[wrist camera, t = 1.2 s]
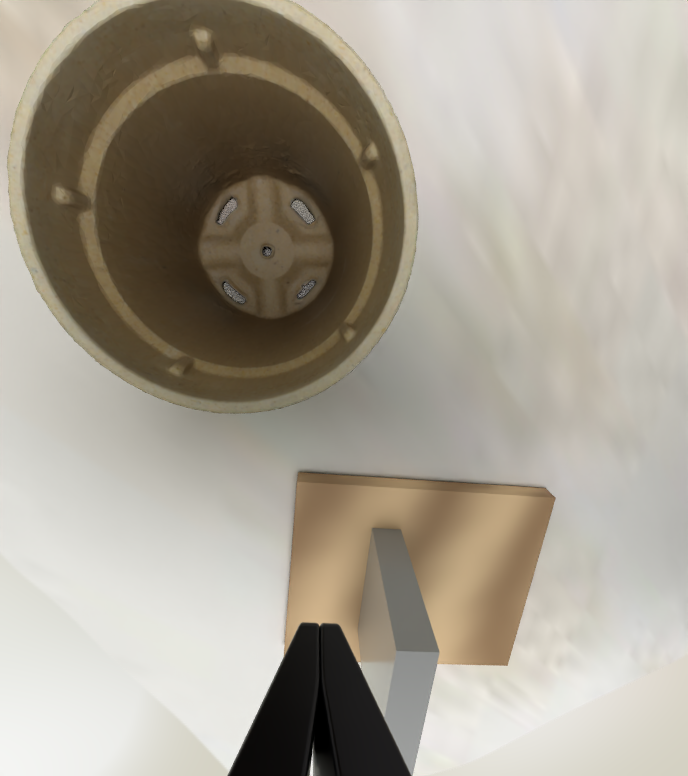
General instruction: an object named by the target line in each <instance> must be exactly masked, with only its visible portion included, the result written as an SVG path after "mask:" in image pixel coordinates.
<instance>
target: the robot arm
mask: <svg viewBox="0 0 688 776" xmlns="http://www.w3.org/2000/svg"><path fill="white" fill-rule="evenodd" d="M312 749H313V776H412V775H411V773H410V771H409V769H408V767H407V765H406V763H405V761H404V759H403V756H402V754H401V752H400V750H399V748H398V746H397V744H396V742H395V740H394V738H393V736H392V733H391V731H390V729H389V727H388V725H387V723H386V721H385V719H384V717H383V715H382V712H381V710H380V708H379V706H378V704H377V702H376V700H375V698H374V696H373V694H372V691H371V689H370V687H369V685H368V683H367V681H366V679H365V677H364V675H363V673H362V670H361V668H360V666H359V664H358V662H357V660H356V658H355V656H354V654H353V652H352V649H351V647H350V645H349V643H348V641H347V639H346V637H345V635H344V633H343V631H342V629H341V627H340V625H339V624H337V623H322V624H321V625H320V627H319V624H318V623H311V622H302V623H300V625H299V626H298V628H297V630H296V632H295V635H294V637H293V639H292V641H291V643H290V645H289V647H288V649H287V651H286V654H285V656H284V658H283V660H282V662H281V664H280V666H279V668H278V670H277V672H276V675H275V677H274V679H273V681H272V683H271V685H270V687H269V689H268V691H267V694H266V696H265V698H264V700H263V702H262V704H261V706H260V708H259V710H258V713H257V715H256V717H255V719H254V721H253V723H252V725H251V727H250V729H249V731H248V734H247V736H246V738H245V740H244V742H243V744H242V746H241V748H240V750H239V753H238V755H237V757H236V759H235V761H234V763H233V765H232V767H231V769H230V771H229V774H228V776H309V775H310V767H311V758H312Z"/></svg>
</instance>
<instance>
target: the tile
mask: <svg viewBox="0 0 688 776" xmlns="http://www.w3.org/2000/svg"><path fill="white" fill-rule="evenodd" d="M358 639H359V649H360V659H361V669H362V673H363V675H364V677H365V679H366V681H367V683H368V685H369V687H370V689H371V691H372V694H373V696H374V698H375V700H376V702H377V704H378V706H379V708H380V710H381V712H382V715H383V717H384V719H385V721H386V723H387V725H388V727H389V729H390V731H391V733H392V736H393V738H394V740H395V742H396V744H397V746H398V748H399V750H400V752H401V754H402V756H403V759H404V761H405V763H406V765H407V767H408V769H409V771H410V773H411V775H413V771H414V766H415V762H416V757H417V753H418V748H419V744H420V739H421V735H422V730H423V726H424V721H425V717H426V712H427V707H428V703H429V698H430V694H431V689H432V685H433V680H434V676H435V671H436V667H437V662H438V658H439V653H440V652H439V648H438V645H437V642H436V639H435V636H434V633H433V629H432V626H431V623H430V620H429V617H428V614H427V610H426V607H425V604H424V601H423V598H422V595H421V591H420V588H419V585H418V582H417V579H416V576H415V572H414V569H413V566H412V563H411V560H410V556H409V553H408V550H407V547H406V544H405V541H404V537H403V534H402V531H401V529H383V528H372V531H371V538H370V545H369V552H368V559H367V566H366V573H365V580H364V587H363V595H362V602H361V609H360V616H359V623H358Z"/></svg>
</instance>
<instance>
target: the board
mask: <svg viewBox="0 0 688 776" xmlns="http://www.w3.org/2000/svg"><path fill="white" fill-rule="evenodd" d="M554 502H555V497H554V496H553V495H552V494H551V493H550V492H549V491H548V490H547V489H546V488H536V487H520V486H504V485H489V484H473V483H458V482H442V481H427V480H411V479H396V478H380V477H364V476H349V475H333V474H318V473H302V472H298V478H297V489H296V502H295V515H294V528H293V541H292V555H291V568H290V581H289V594H288V607H287V621H286V634H285V647H284V656H285V654H286V651H287V649H288V647H289V645H290V643H291V641H292V639H293V637H294V635H295V632H296V630H297V628H298V626H299V625H300V623H302V622H311V623H318V624H319V627H320V625H321V624H322V623H337V624H339V625H340V627H341V629H342V631H343V633H344V635H345V637H346V639H347V641H348V643H349V645H350V647H351V649H352V652H353V654H354V656H355V658H356V660H357V662H361V659H360V649H359V639H358V623H359V616H360V609H361V602H362V595H363V587H364V580H365V573H366V566H367V559H368V552H369V545H370V538H371V531H372V528H383V529H401V531H402V534H403V537H404V541H405V544H406V547H407V550H408V553H409V556H410V560H411V563H412V566H413V569H414V572H415V576H416V579H417V582H418V585H419V588H420V591H421V595H422V598H423V601H424V604H425V607H426V610H427V614H428V617H429V620H430V623H431V626H432V629H433V633H434V636H435V639H436V642H437V645H438V648H439V652H440V653H439V658H438V662H437V664H462V665H504V666H507V665H508V662H509V658H510V655H511V651H512V648H513V644H514V641H515V637H516V634H517V630H518V627H519V623H520V620H521V617H522V613H523V610H524V606H525V603H526V599H527V596H528V592H529V589H530V585H531V582H532V578H533V575H534V571H535V568H536V564H537V561H538V557H539V554H540V550H541V547H542V544H543V540H544V537H545V533H546V530H547V526H548V523H549V519H550V516H551V512H552V509H553V505H554Z"/></svg>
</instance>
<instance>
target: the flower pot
mask: <svg viewBox="0 0 688 776" xmlns="http://www.w3.org/2000/svg"><path fill="white" fill-rule="evenodd" d="M7 169H8V178H9V187H8V193H9V198H10V215H11V218H12V221H13V223H14V231H15V233H16V236H17V241H18V244H19V247H20V250H21V254H22V256H23V258H24V261H25V263H26V266H27V268H28V270H29V272H30V274H31V276H32V279H33V282H34V284H35V287H36V289H37V291H38V292H39V293H40V294H41V297H42V299H43V300H44V301H45V302H46V304H47V306H48V308H49V309H50V311H51V312H52V313H53V315H54V316H55V317H56V319H57V320H58V322H59V323H60V325H61V326H62V327H63V328H64V329H65V331H66V332H67V333H68V334H69V335H70V336H71V337H72V338H73V339H74V341H75V342H76V343H78V344H79V345H80V346H81V347H82V348H83V349H84V350H85V351H86V352H87V353H88V354H89V355H90V356H92V357H93V358H94V359H95V361H96V362H99V364H100V365H102V366H104V367H105V368H107V369H108V370H109V371H111V372H112V373H114V374H115V375H117V376H118V377H120V378H121V379H123V380H124V381H126V382H128V383H129V384H131V385H133V386H135V387H137V388H138V389H140V390H142V391H144V392H146V393H148V394H151V395H153V396H155V397H157V398H160V399H163V400H165V401H168V402H170V403H173V404H176V405H180V406H184V407H187V408H192V409H195V410H202V411H210V412H213V413H233V414H235V413H255V412H263V411H270V410H275V409H281V408H284V407H286V406H290V405H293V404H296V403H299V402H301V401H304V400H307V399H309V398H310V397H312V396H314V395H317V394H319V393H320V392H322V391H324V390H326V389H327V388H329V387H330V386H332V385H334V384H335V383H337V382H338V381H339V380H340V379H342V378H343V377H345V376H346V375H348V374H349V373H350V372H351V371H352V370H353V369H354V368H355V367H356V366H357V365H358V364H359V363H361V361H362V360H363V359H365V358H366V357H367V355H368V354H369V353H370V352H371V350H372V349H373V347H374V346H375V345H376V344H377V343H378V341H379V340H380V338H381V337H382V335H383V334H384V333H385V331H386V330H387V328H388V327H389V325H390V323H391V321H392V319H393V318H394V316H395V314H396V312H397V311H398V309H399V307H400V304H401V302H402V299H403V296H404V294H405V291H406V289H407V285H408V281H409V278H410V275H411V271H412V266H413V262H414V256H415V252H416V240H417V231H418V204H417V194H416V182H415V176H414V170H413V166H412V162H411V158H410V154H409V150H408V146H407V143H406V139H405V136H404V134H403V131H402V129H401V126H400V124H399V121H398V118H397V116H396V115H395V113H394V111H393V108H392V106H391V104H390V102H389V101H388V99H387V97H386V95H385V93H384V91H383V89H382V87H381V86H380V84H379V83H378V81H377V80H376V79H375V77H374V75H373V74H372V73H371V72H370V70H369V68H368V67H367V66H366V65H365V63H364V62H363V61H362V60H361V58H360V57H359V56H358V55H357V54H356V52H355V51H354V50H353V49H352V48H351V47H350V46H349V45H348V44H347V43H346V42H344V41H343V39H342V38H341V37H340V36H338V35H337V34H336V33H335V32H334V31H333V30H332V29H331V28H330V27H329V26H328V25H326V24H325V23H324V22H322V21H321V20H319V19H318V18H317V17H315V16H314V15H313V14H311V13H310V12H308V11H307V10H306V9H304V8H303V7H302V6H300V5H298V4H296V3H294V2H292V1H290V0H98V1H96V2H94V4H93V5H92V6H91V7H89V8H88V9H87V10H84V12H83V13H82V14H81V15H80V16H79V17H77V18H75V19H73V20H72V21H70V22H69V23H68V24H67V25H66V26H65V27H64V29H63V30H62V32H61V33H60V34H59V35H58V36H57V37H56V38H55V39H54V40H53V42H52V44H51V45H50V46H49V47H48V48H47V50H46V51H45V52H44V54H43V55H42V57H41V58H40V60H39V62H38V63H37V66H36V68H35V70H34V72H33V73H32V75H31V76H30V78H29V80H28V83H27V85H26V88H25V90H24V92H23V95H22V98H21V100H20V102H19V105H18V108H17V110H16V113H15V118H14V122H13V128H12V132H11V142H10V147H9V151H8V157H7ZM231 198H234V199H236V200H237V208H236V209H235V210H234V211H232V212H231V213H230V214H229V215H228V216H227V218H226V219H225V221H224V222H223V223H222V224H219V223H217V222H216V221H217V219H218V218H219V213H220V212H221V210H222V209H223V207H224V205H225V204H226V203H227V201H228V200H229V199H231ZM295 199H298V200H301V201H302V202H303V203H304V204H305V205H306V206H307V208H308V209H309V211H310V212H311V213H312V214H313V217H314V219H315V221H313V222H312V223H311V224H308V223H306V222H305V221H304V219H303V218H302V217H301V216H300V215H299V214H298V213H297V212H296V211H295V210H294V209H293V208H291V204H292V202H293V200H295ZM263 247H270V248H271V250H272V252H271V255H270V256H264V255H263V253H262V250H263ZM311 280H314V281H315V282H316V284H315V285H314V286H313V288H312V289H311V290H310V291H309V292H308V293H307V295H305V296H304V297H303V298H298V297H297V295H298V294H299V293H300V292H301V291H302V289H303V287H302V285H304V286H305V285H307V284H308V283H309V282H310V281H311ZM223 282H227V283H228V284H229V285H230V286H231V287H232V288H233V289H235V290H236V291H237V292H238V293H239V294H240V295H242V296H243V297H244V298H245V299H246V300H245V303H243V304H241V303H239V302H236V301H234V300H233V299H232V298H231V297H230V296H228V295H227V294H226V293H225V291H224V289H223V285H222V284H223Z"/></svg>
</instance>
